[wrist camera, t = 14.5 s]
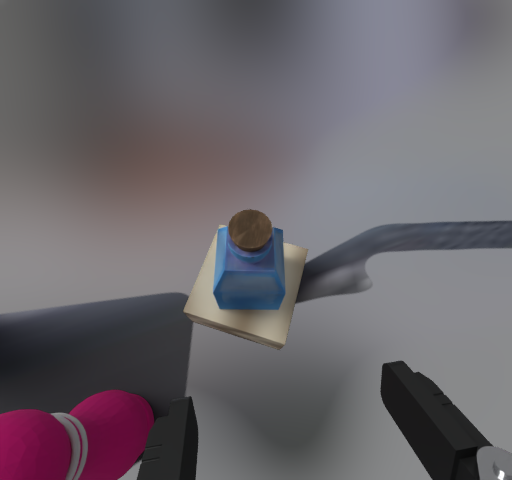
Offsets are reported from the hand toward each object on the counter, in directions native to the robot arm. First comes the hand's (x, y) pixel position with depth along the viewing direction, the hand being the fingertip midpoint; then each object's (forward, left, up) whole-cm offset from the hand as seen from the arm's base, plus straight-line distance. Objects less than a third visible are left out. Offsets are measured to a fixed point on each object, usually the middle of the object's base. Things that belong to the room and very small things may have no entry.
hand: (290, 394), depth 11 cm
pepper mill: (-13, -8, -22) cm, 27 cm away
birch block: (-4, +10, -22) cm, 25 cm away
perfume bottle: (-4, +9, -16) cm, 19 cm away
